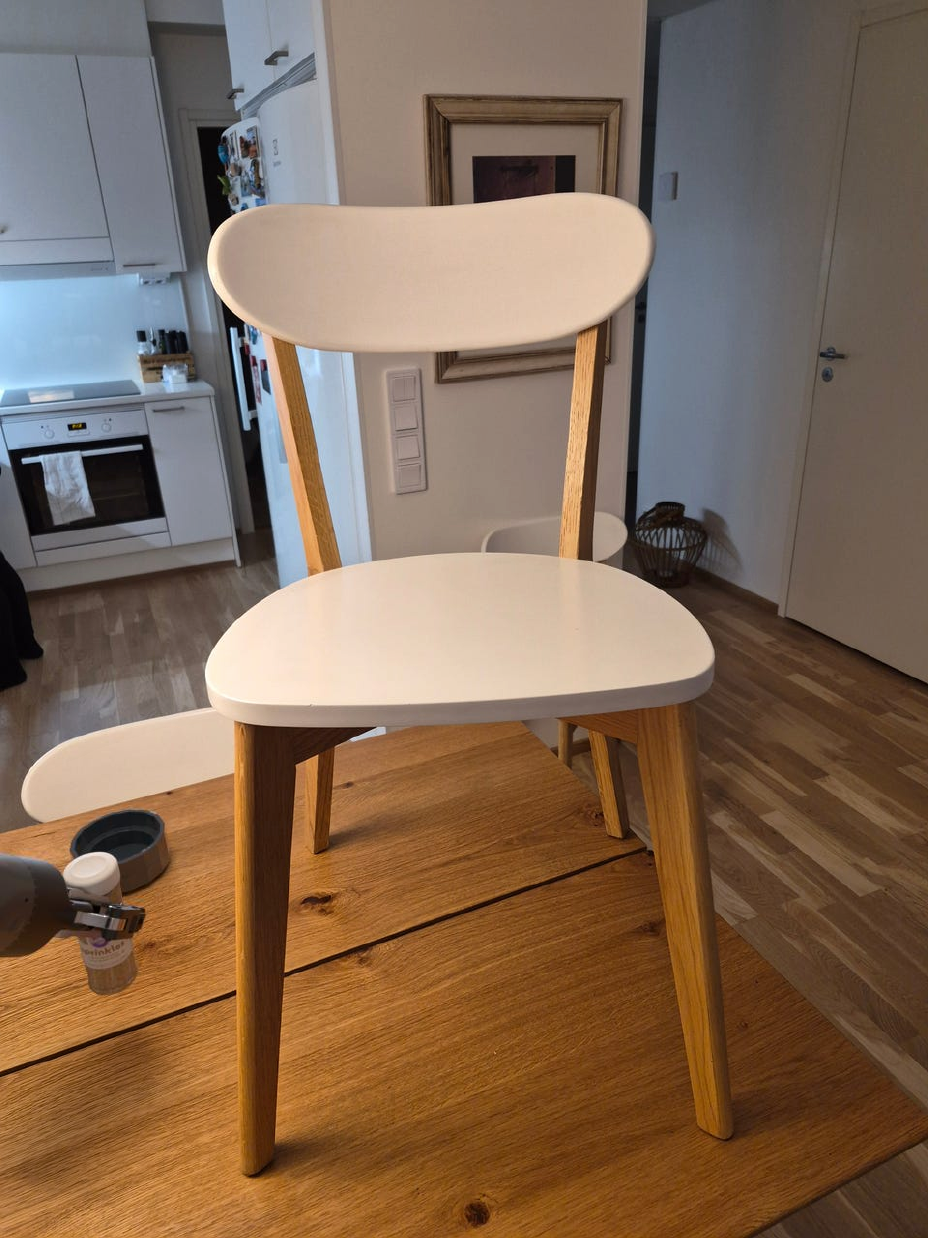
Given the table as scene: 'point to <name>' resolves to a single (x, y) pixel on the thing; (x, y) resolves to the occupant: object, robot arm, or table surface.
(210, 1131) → the table surface
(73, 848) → the bowl
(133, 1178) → the table surface
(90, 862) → the sprinkles bottle
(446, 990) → the table surface
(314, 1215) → the table surface
